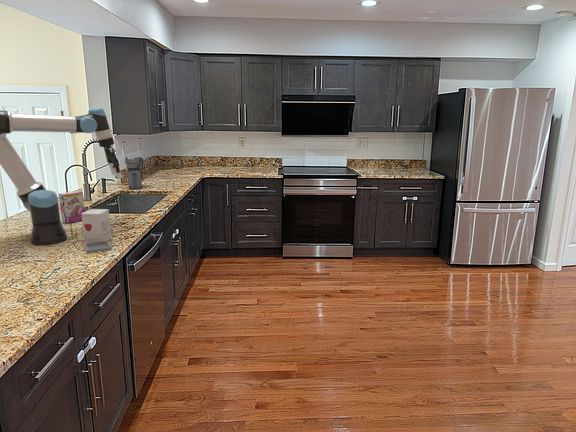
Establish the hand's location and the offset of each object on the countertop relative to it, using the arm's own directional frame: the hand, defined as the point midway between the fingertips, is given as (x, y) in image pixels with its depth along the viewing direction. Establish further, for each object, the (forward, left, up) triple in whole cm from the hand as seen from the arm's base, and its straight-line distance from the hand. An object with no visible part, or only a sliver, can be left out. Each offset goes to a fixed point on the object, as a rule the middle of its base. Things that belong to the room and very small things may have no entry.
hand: (117, 176), depth 225 cm
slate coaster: (-18, -45, -25) cm, 54 cm away
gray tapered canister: (+27, +95, -25) cm, 102 cm away
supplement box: (-16, -34, -25) cm, 45 cm away
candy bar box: (-23, +12, -25) cm, 36 cm away
